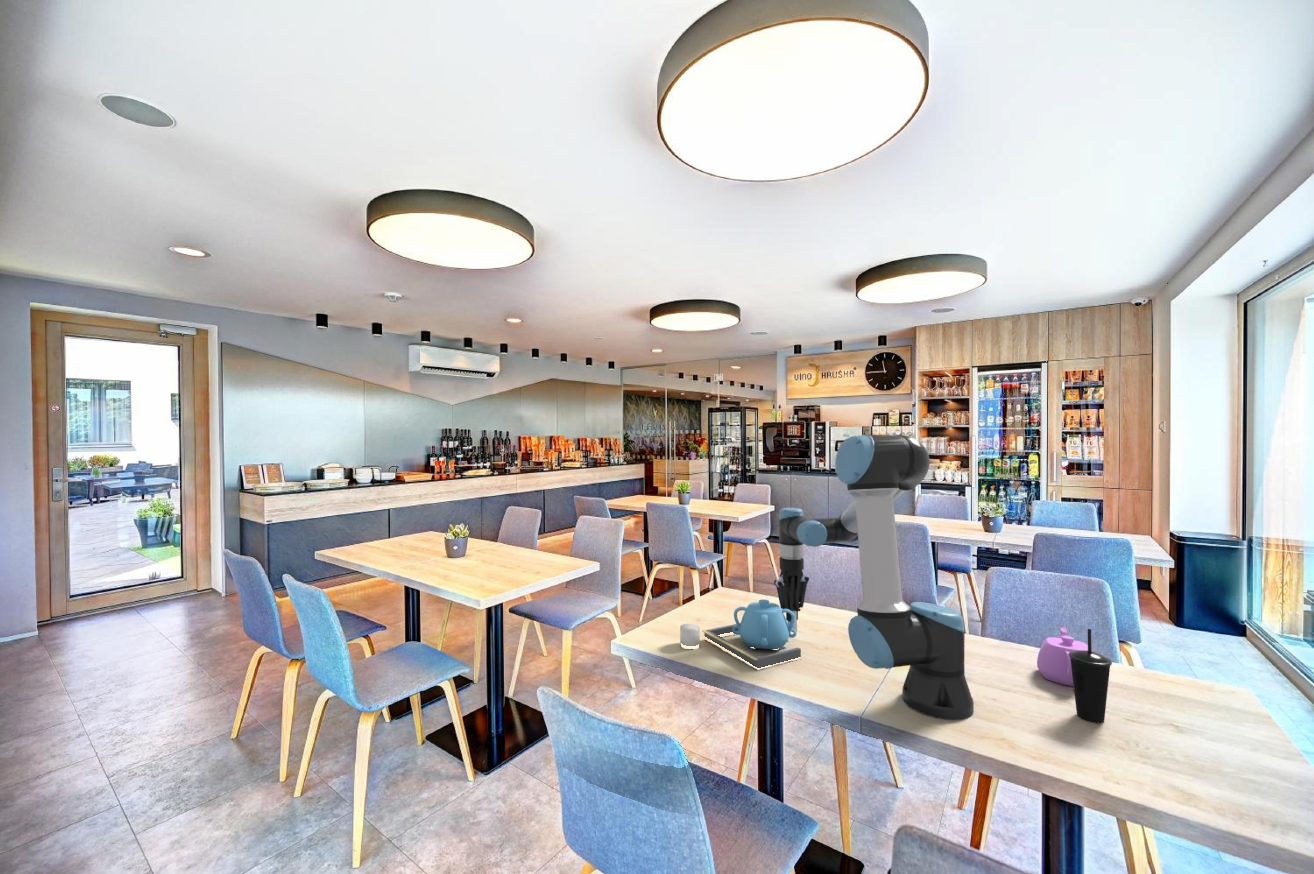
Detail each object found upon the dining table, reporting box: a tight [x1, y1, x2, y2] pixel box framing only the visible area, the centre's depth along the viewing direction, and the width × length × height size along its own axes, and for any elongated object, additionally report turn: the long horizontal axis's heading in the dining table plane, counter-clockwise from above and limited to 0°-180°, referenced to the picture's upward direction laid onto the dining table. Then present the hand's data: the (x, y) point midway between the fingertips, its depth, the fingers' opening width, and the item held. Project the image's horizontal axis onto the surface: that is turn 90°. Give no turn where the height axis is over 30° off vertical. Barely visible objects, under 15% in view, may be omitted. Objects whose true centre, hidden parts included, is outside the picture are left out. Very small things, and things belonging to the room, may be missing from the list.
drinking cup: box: [1069, 628, 1113, 724], centre depth 122 cm, size 8×8×20 cm
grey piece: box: [701, 622, 802, 668], centre depth 163 cm, size 26×17×3 cm, turn 29°
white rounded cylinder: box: [679, 623, 701, 646], centre depth 167 cm, size 7×6×6 cm
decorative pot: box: [732, 599, 797, 650], centre depth 168 cm, size 16×16×14 cm
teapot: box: [1036, 626, 1088, 687], centre depth 142 cm, size 13×20×11 cm
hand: (792, 630), depth 172 cm, fingers closed
